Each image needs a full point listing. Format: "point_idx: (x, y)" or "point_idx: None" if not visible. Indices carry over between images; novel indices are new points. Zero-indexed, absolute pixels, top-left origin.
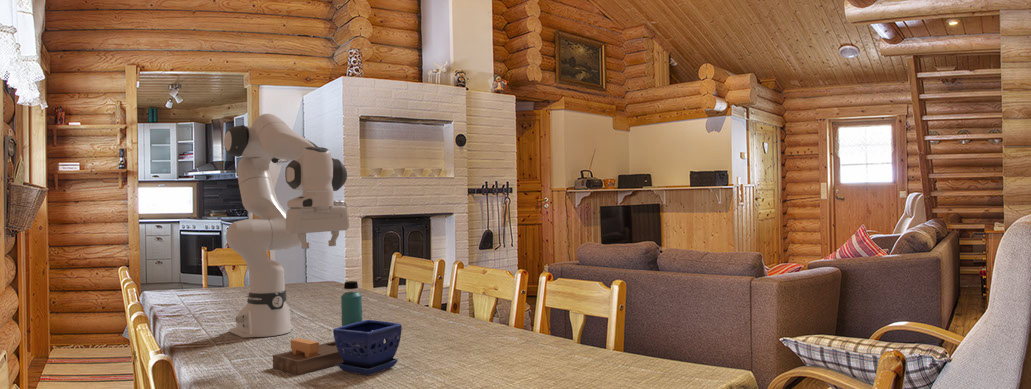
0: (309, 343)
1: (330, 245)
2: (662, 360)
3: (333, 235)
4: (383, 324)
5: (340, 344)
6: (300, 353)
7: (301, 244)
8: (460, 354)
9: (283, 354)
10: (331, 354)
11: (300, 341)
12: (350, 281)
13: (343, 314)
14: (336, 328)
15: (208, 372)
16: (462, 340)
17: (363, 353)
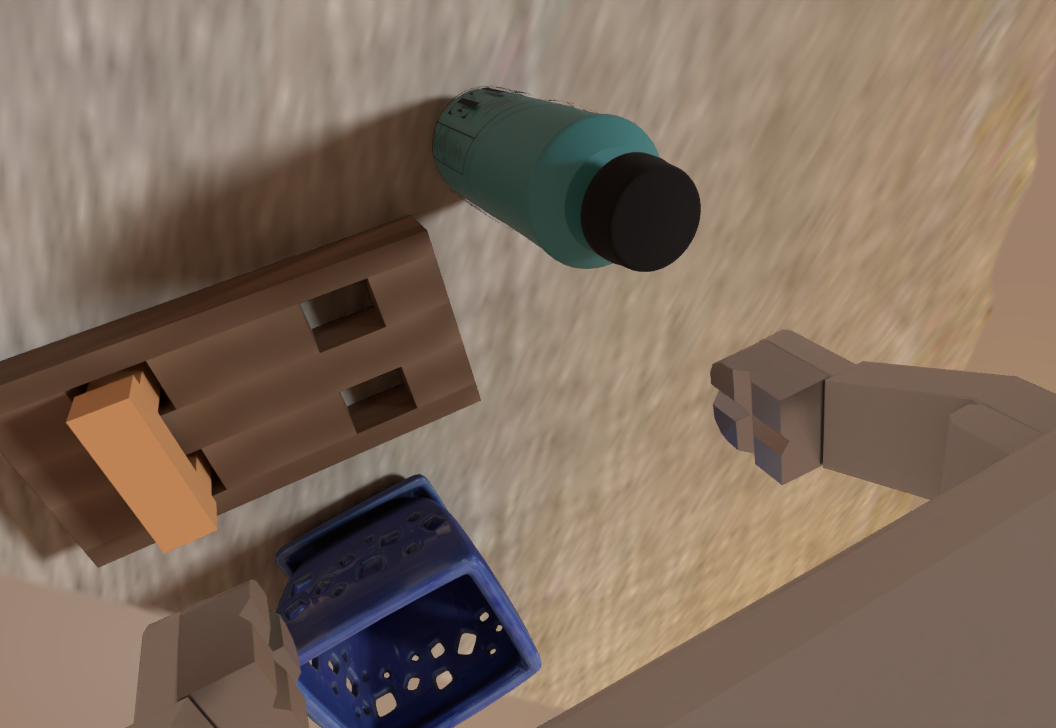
0: (164, 540)
1: (726, 397)
2: None
3: (941, 427)
4: (500, 621)
5: None
6: None
7: (139, 690)
8: (686, 482)
9: (28, 413)
10: (274, 488)
11: (122, 480)
12: (653, 229)
13: (486, 190)
14: None
15: None
16: (807, 312)
17: (350, 681)
